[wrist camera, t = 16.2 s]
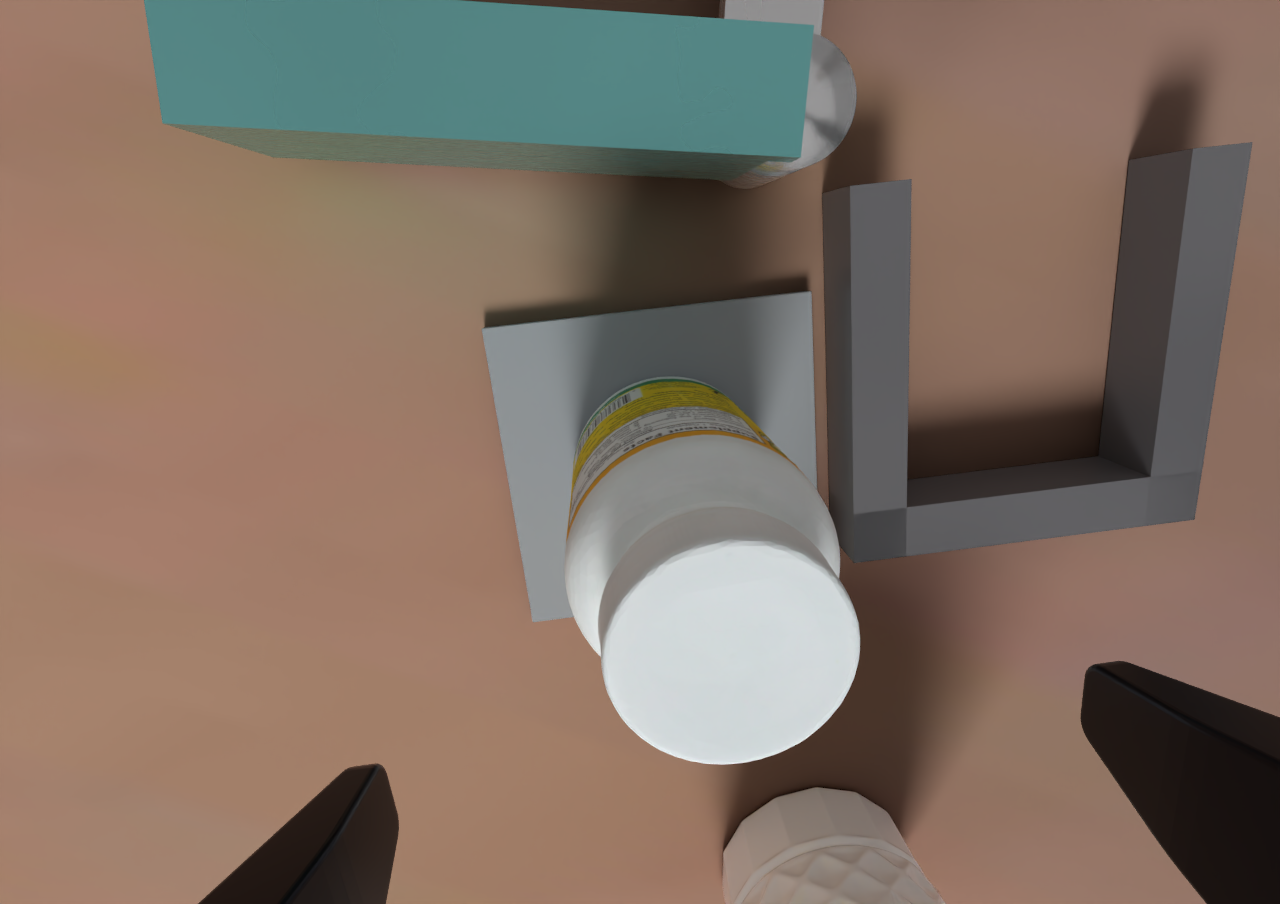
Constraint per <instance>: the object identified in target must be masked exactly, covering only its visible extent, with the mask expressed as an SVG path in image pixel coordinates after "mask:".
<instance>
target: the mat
mask: <svg viewBox="0 0 1280 904" xmlns="http://www.w3.org/2000/svg"><path fill="white" fill-rule="evenodd" d="M482 333H483V339H484V344H485V350H486V356H487V362H488V367H489V373H490V379H491V384H492V390H493V396H494V402H495V407H496V413H497V419H498V425H499V430H500V436H501V442H502V448H503V453H504V459H505V465H506V470H507V476H508V482H509V488H510V493H511V499H512V505H513V511H514V516H515V522H516V528H517V534H518V539H519V545H520V551H521V556H522V562H523V568H524V574H525V579H526V585H527V591H528V597H529V602H530V608H531V614H532V620H533V622H538V621H546V620H553V619H561V618H569V617H574V615H573V613H572V610H571V607H570V604H569V601H568V596H567V591H566V584H565V571H564V564H565V549H566V537H567V528H568V519H569V508H570V500H571V488H572V476H573V461H574V457H575V452H576V448H577V444H578V441H579V438H580V436H581V433H582V431H583V429H584V427H585V426H586V424H587V422H588V420H589V419H590V417H591V416H592V415H593V413H594V412H595V411H596V410H597V409H598V408H599V407H600V405H602V404H603V403H604V402H605V401H606V400H607V399H608V398H609V397H611V396H612V395H613V394H615V393H616V392H618V391H619V390H621V389H623V388H625V387H627V386H629V385H631V384H634V383H636V382H639V381H642V380H646V379H650V378H655V377H668V376H672V377H685V378H691V379H695V380H698V381H702V382H704V383H706V384H709V385H711V386H713V387H715V388H716V389H718V390H719V391H721V392H722V393H724V394H725V395H726V396H727V397H729V398H730V399H731V400H732V401H733V402H734V403H735V404H736V405H737V406H738V407H739V408H740V409H741V410H742V411H743V412H744V413H745V414H746V415H748V416H749V418H750V419H751V420H752V421H753V422H754V423H755V424H756V425H757V426H758V427H759V428H760V429H761V430H762V431H763V432H764V433H765V434H766V435H767V436H768V437H769V438H770V439H771V440H772V442H773V443H774V444H775V445H776V446H777V447H778V448H779V449H780V450H781V451H782V452H783V453H784V454H785V455H786V456H787V457H788V458H789V459H790V460H791V461H792V462H794V463H795V464H796V465H797V467H798V468H799V469H800V470H801V472H802V473H803V474H804V475H805V476H806V477H807V478H808V479H809V480H810V482H811V483H812V485H813V486H814V487H815V489H816V490H817V474H816V438H815V403H814V367H813V332H812V296H811V291H801V292H792V293H783V294H774V295H766V296H757V297H748V298H739V299H730V300H722V301H713V302H704V303H695V304H686V305H677V306H669V307H660V308H651V309H642V310H633V311H625V312H616V313H607V314H598V315H589V316H580V317H572V318H563V319H554V320H545V321H536V322H528V323H519V324H510V325H501V326H492V327H484V328H483V329H482Z"/></svg>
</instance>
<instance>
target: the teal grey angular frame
mask: <svg viewBox="0 0 1280 904" xmlns="http://www.w3.org/2000/svg"><path fill="white" fill-rule="evenodd" d="M144 3H145V10H146V17H147V23H148V30H149V36H150V43H151V50H152V56H153V63H154V69H155V76H156V83H157V89H158V96H159V102H160V109H161V115H162V122H163V124H167V125H170V126H173V127H176V128H180V129H183V130H186V131H189V132H193V133H196V134H199V135H202V136H206V137H209V138H212V139H216V140H219V141H222V142H225V143H229V144H232V145H235V146H238V147H242V148H245V149H248V150H251V151H255V152H258V153H261V154H265V155H268V156H271V157H277V158H296V159H316V160H336V161H356V162H375V163H395V164H415V165H435V166H454V167H474V168H494V169H513V170H533V171H553V172H573V173H592V174H612V175H632V176H652V177H671V178H691V179H711V180H720V181H722V182H723V183H725V184H727V185H729V186H731V187H735V188H740V189H751V188H756V187H759V186H762V185H764V184H767V183H769V182H772V181H774V180H776V179H779V178H781V177H783V176H786V175H788V174H791V173H793V172H795V171H798V170H800V169H803V168H805V167H807V166H810V165H812V164H814V163H816V162H819V161H821V160H822V159H824V158H825V157H827V156H828V155H829V154H830V153H832V152H833V151H834V150H835V149H836V148H837V147H838V146H839V144H840V143H841V142H842V140H843V139H844V137H845V136H846V134H847V132H848V130H849V128H850V126H851V123H852V120H853V117H854V114H855V108H856V98H857V94H856V84H855V78H854V75H853V72H852V69H851V67H850V64H849V62H848V61H847V59H846V57H845V56H844V54H843V53H842V52H841V51H840V49H839V48H838V47H837V46H835V45H834V44H833V43H832V42H831V41H829V40H828V39H826V38H824V37H822V36H821V26H822V16H823V7H824V0H720V5H719V18H707V17H693V16H678V15H664V14H649V13H635V12H620V11H606V10H591V9H577V8H563V7H548V6H534V5H519V4H505V3H490V2H476V1H462V0H144Z"/></svg>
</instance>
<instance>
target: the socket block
mask: <svg viewBox="0 0 1280 904" xmlns="http://www.w3.org/2000/svg"><path fill="white" fill-rule="evenodd" d="M1251 148H1252V142H1250V143H1241V144H1232V145H1222V146H1213V147H1204V148H1195V149H1189V150H1183V151H1177V152H1172V153H1166V154H1161V155H1155V156H1149V157H1144V158H1138V159H1132V160H1129V166H1128V176H1127V185H1126V195H1125V204H1124V214H1123V224H1122V233H1121V243H1120V252H1119V262H1118V272H1117V281H1116V291H1115V300H1114V310H1113V320H1112V329H1111V339H1110V348H1109V358H1108V368H1107V377H1106V387H1105V397H1104V406H1103V416H1102V425H1101V435H1100V445H1099V454H1098V456H1096V457H1088V458H1080V459H1072V460H1063V461H1055V462H1047V463H1039V464H1031V465H1023V466H1015V467H1007V468H999V469H991V470H983V471H975V472H966V473H958V474H950V475H942V476H934V477H926V478H918V479H910V480H907V452H908V384H909V315H910V247H911V179H909V180H899V181H890V182H881V183H872V184H862V185H853V186H848V187H844V188H840V189H837V190H833V191H829V192H826V193H822V202H823V246H824V291H825V335H826V380H827V424H828V469H829V513H830V515H831V518H832V520H833V523H834V526H835V529H836V533H837V537H838V543H839V546H840V547H841V548H842V549H843V550H844V552H845V553H846V554H847V555H848V556H849V557H850V559H851V560H852V561H853V562H854V563H858V562H866V561H874V560H881V559H889V558H897V557H905V556H913V555H921V554H928V553H936V552H944V551H952V550H960V549H968V548H975V547H983V546H991V545H999V544H1007V543H1015V542H1022V541H1030V540H1038V539H1046V538H1054V537H1062V536H1070V535H1077V534H1085V533H1093V532H1101V531H1109V530H1117V529H1124V528H1132V527H1140V526H1148V525H1156V524H1164V523H1171V522H1179V521H1187V520H1194V519H1195V513H1196V506H1197V499H1198V493H1199V486H1200V480H1201V473H1202V467H1203V460H1204V454H1205V447H1206V441H1207V434H1208V428H1209V421H1210V415H1211V408H1212V402H1213V395H1214V389H1215V382H1216V376H1217V369H1218V363H1219V356H1220V350H1221V343H1222V337H1223V330H1224V324H1225V317H1226V311H1227V304H1228V298H1229V291H1230V285H1231V278H1232V272H1233V265H1234V259H1235V252H1236V246H1237V239H1238V233H1239V226H1240V220H1241V213H1242V207H1243V200H1244V194H1245V187H1246V181H1247V174H1248V168H1249V161H1250V155H1251Z"/></svg>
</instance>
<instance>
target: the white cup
mask: <svg viewBox="0 0 1280 904" xmlns="http://www.w3.org/2000/svg"><path fill="white" fill-rule="evenodd" d="M723 893H724V899H725V904H946V903H945V902H944V900H943V899H942V897H941V895H940V893H939V891H938V890H937V889H936V888H935V887H934V886H933V885H932V884H931V882H930V881H929V880H928V879H927V878H926V876H925V874H924V873H923V871H922V869H921V868H920V866H919V865H918V863H917V862H916V860H915V858H914V857H913V855H912V853H911V852H910V850H909V848H908V846H907V845H906V843H905V841H904V839H903V838H902V836H901V834H900V832H899V831H898V829H897V827H896V826H895V824H894V822H893V820H892V819H891V817H890V815H889V814H888V812H887V811H885V810H884V809H882V808H881V807H879V806H878V805H876V804H874V803H873V802H871V801H870V800H868V799H866V798H865V797H863V796H862V795H860V794H858V793H857V792H853V791H844V790H836V789H828V788H820V787H815V788H811V789H807V790H803V791H799V792H795V793H791V794H787V795H783V796H779V797H776V798H774V799H773V800H771V801H770V802H768V803H767V804H765V805H764V806H762V807H761V808H759V809H758V810H757V811H755V812H754V813H752V814H751V815H750V816H748V817H747V818H745V819H744V820H743V821H742V822H741V824H740V825H739V827H738V829H737V830H736V832H735V833H734V835H733V837H732V838H731V840H730V842H729V843H728V845H727V847H726V848H725V850H724V852H723Z"/></svg>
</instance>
